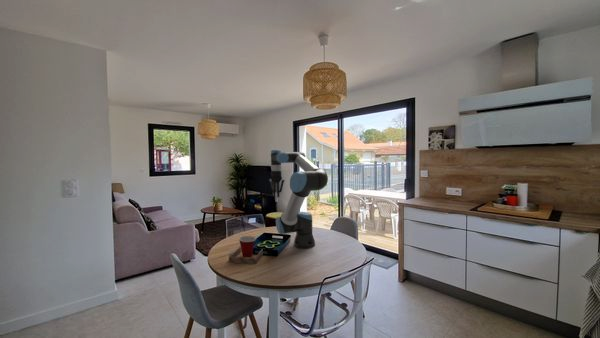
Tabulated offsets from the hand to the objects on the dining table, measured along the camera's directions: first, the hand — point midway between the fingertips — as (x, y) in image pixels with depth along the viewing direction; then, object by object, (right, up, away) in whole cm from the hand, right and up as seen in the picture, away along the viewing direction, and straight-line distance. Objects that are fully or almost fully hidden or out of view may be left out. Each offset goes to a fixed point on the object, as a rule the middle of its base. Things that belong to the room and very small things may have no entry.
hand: (276, 201), depth 186 cm
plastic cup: (-16, -32, -29) cm, 46 cm away
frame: (-16, -31, -30) cm, 46 cm away
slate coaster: (-26, -31, -25) cm, 47 cm away
